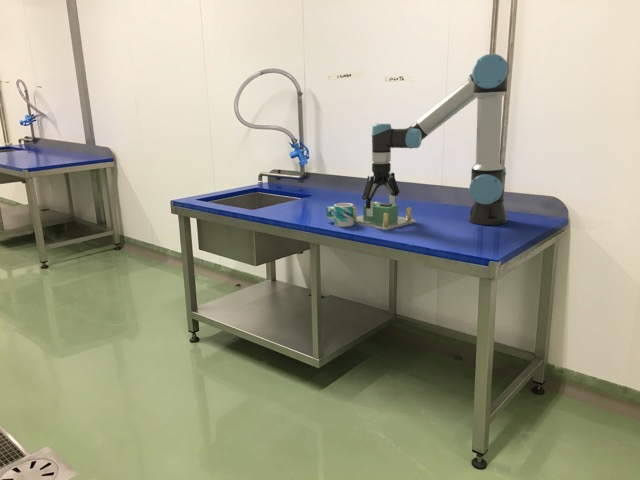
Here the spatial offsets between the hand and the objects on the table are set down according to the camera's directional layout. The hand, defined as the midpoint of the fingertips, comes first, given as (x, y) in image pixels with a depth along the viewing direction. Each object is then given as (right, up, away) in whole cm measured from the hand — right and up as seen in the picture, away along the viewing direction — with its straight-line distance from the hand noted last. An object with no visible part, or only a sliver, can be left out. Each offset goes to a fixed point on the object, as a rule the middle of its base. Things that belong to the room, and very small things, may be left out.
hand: (381, 213), depth 223 cm
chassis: (0, -4, +1) cm, 4 cm away
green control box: (0, -2, +1) cm, 3 cm away
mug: (-17, -5, 0) cm, 18 cm away
